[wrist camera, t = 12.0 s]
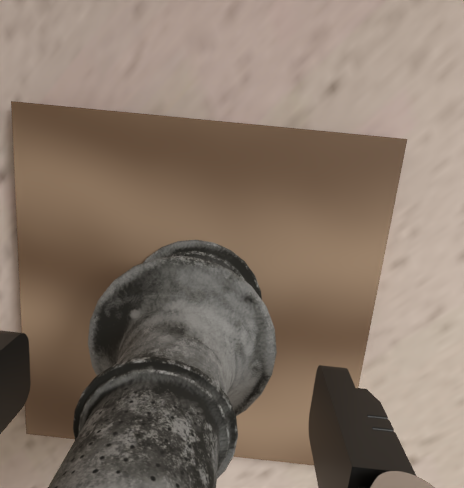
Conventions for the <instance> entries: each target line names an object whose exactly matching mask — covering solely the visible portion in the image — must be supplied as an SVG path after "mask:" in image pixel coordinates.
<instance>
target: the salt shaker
mask: <svg viewBox="0 0 464 488" xmlns="http://www.w3.org/2000/svg"><path fill="white" fill-rule="evenodd" d="M88 348H89V353H90V358H91V363H92V367H93V369H94V371H95V373H96V375H97V376H96V377H95V378H94V379H93V380H92V382H91V383H90V384H89V385H88V386H87V387H86V389H85V390H84V391H83V392H82V394H81V397H80V399H79V401H78V404H77V406H76V408H75V411H74V421H73V432H74V437H75V442H74V444H73V445H72V447H71V449H70V451H69V452H68V454H67V456H66V457H65V459H64V461H63V463H62V464H61V466H60V468H59V470H58V471H57V473H56V475H55V476H54V478H53V480H52V482H51V483H50V485H49V487H48V488H216V480H217V478H218V477H219V476H220V475H221V474H222V473H223V472H224V471H225V470H226V468H227V466H228V465H229V463H230V461H231V459H232V458H233V456H234V453H235V448H236V444H237V439H238V429H237V419H236V416H237V415H239V414H241V413H242V412H244V411H246V410H247V409H248V408H249V407H250V406H251V405H252V404H253V403H254V402H255V400H256V399H257V398H258V397H259V396H260V395H261V394H262V392H263V391H264V389H265V387H266V385H267V383H268V381H269V379H270V378H271V376H272V373H273V368H274V363H275V358H276V354H277V350H276V337H275V328H274V325H273V322H272V320H271V317H270V314H269V312H268V309H267V306H266V305H265V304H264V302H263V301H262V296H261V290H260V287H259V285H258V282H257V279H256V277H255V275H254V273H253V272H252V271H251V269H250V268H249V266H248V265H247V264H246V262H245V261H244V260H243V259H241V258H240V257H239V256H238V255H236V254H235V253H234V252H233V251H231V250H230V249H227V248H225V247H223V246H221V245H218V244H216V243H213V242H208V241H202V240H186V241H177V242H175V243H172V244H169V245H166V246H164V247H161V248H160V249H158V250H157V251H156V252H154V253H153V254H151V255H150V256H149V257H147V258H146V260H145V261H144V262H143V263H142V264H139V265H136V266H133V267H132V268H131V269H129V270H128V271H126V272H125V273H124V274H122V275H121V276H119V277H118V278H117V279H115V280H114V281H113V282H112V283H111V284H110V286H109V287H108V288H107V289H106V291H105V292H104V293H103V295H102V296H101V297H100V298H99V300H98V302H97V304H96V307H95V309H94V312H93V314H92V317H91V319H90V324H89V335H88Z"/></svg>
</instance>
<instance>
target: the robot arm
mask: <svg viewBox="0 0 464 488" xmlns="http://www.w3.org/2000/svg"><path fill="white" fill-rule="evenodd" d="M30 385H31V380H30V355H29V339H28V336H27V335H26V334H25V333H17V332H7V331H0V434H1V433H2V431H3V430H4V429H5V428H6V427H7V425H8V424H9V423H10V422H11V421H12V419H13V418H14V417H15V416H16V415H17V413H18V412H19V411H20V410H21V409H22V407H23V406H24V404H25V402H26V400H27V398H28V395H29V391H30ZM387 418H388V417H387V415H386V413H385V411H384V409H383V407H382V405H381V402H380V401H378V400H377V399H376V398H375V397H374V396H373V395H372V394H371V393H370V392H369V391H368V390H367V389H360V388H355V385H354V383H353V380H352V378H351V376H350V373H349V371H348V369H347V368H342V367H332V366H323V365H319V366H318V368H317V371H316V377H315V383H314V389H313V395H312V401H311V407H310V413H309V440H310V445H311V451H312V456H313V461H314V466H315V471H316V476H317V481H318V487H319V488H435V487H433V486H432V485H431V484H429V483H428V482H426V481H425V480H423V479H421V478H419V477H417V476H416V474H415V472H414V470H413V468H412V466H411V464H410V462H409V460H408V458H407V456H406V454H405V452H404V450H403V448H402V446H401V443H400V441H399V439H398V437H397V435H396V433H395V432H394V431H393V430H394V429H393V427H392V425H391V423H390V421H389V420H388V419H387Z"/></svg>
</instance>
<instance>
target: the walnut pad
mask: <svg viewBox="0 0 464 488" xmlns="http://www.w3.org/2000/svg"><path fill="white" fill-rule="evenodd" d="M11 108H12V130H13V152H14V174H15V196H16V218H17V240H18V262H19V284H20V306H21V328H22V333H25V334H26V335H27V336H28V339H29V355H30V380H31V385H30V391H29V395H28V398H27V400H26V402H25V417H26V434H33V435H43V436H52V437H61V438H70V439H75V437H74V432H73V421H74V411H75V408H76V406H77V404H78V401H79V399H80V397H81V394H82V392H83V391H84V390H85V389H86V387H87V386H88V385H89V384H90V383H91V382H92V380H93V379H94V378H95V377H96V376H97V375H96V373H95V371H94V369H93V367H92V363H91V358H90V353H89V348H88V335H89V324H90V319H91V317H92V314H93V312H94V309H95V307H96V304H97V302H98V300H99V298H100V297H101V296H102V295H103V293H104V292H105V291H106V289H107V288H108V287H109V286H110V284H111V283H112V282H113V281H114V280H115V279H117V278H118V277H119V276H121V275H122V274H124V273H125V272H126V271H128V270H129V269H131V268H132V267H133V266H136V265H139V264H142V263H143V262H144V261H145V260H146V258H147V257H149V256H150V255H151V254H153V253H154V252H156V251H157V250H158V249H160V248H161V247H164V246H166V245H169V244H172V243H175V242H177V241H186V240H202V241H208V242H213V243H216V244H218V245H221V246H223V247H225V248H227V249H230V250H231V251H233V252H234V253H235V254H236V255H238V256H239V257H240V258H241V259H243V260H244V261H245V262H246V264H247V265H248V266H249V268H250V269H251V271H252V272H253V273H254V275H255V277H256V279H257V282H258V285H259V287H260V290H261V296H262V301H263V302H264V304H265V305H266V306H267V309H268V312H269V314H270V317H271V320H272V322H273V325H274V328H275V337H276V350H277V354H276V358H275V363H274V368H273V373H272V376H271V378H270V379H269V381H268V383H267V385H266V387H265V389H264V391H263V392H262V394H261V395H260V396H259V397H258V398H257V399H256V400H255V402H254V403H253V404H252V405H251V406H250V407H249V408H248V409H247V410H246V411H244V412H242V413H241V414H239V415H237V416H236V419H237V429H238V439H237V444H236V448H235V453H234V457H243V458H252V459H261V460H270V461H280V462H289V463H298V464H307V465H314V461H313V456H312V451H311V445H310V440H309V413H310V407H311V401H312V395H313V389H314V383H315V377H316V371H317V368H318V366H319V365H323V366H332V367H342V368H347V369H348V371H349V373H350V376H351V378H352V380H353V383H354V385H355V388H358V385H359V380H360V375H361V370H362V365H363V360H364V355H365V350H366V345H367V340H368V335H369V330H370V325H371V320H372V315H373V310H374V305H375V300H376V295H377V289H378V284H379V279H380V274H381V269H382V264H383V259H384V254H385V249H386V244H387V239H388V234H389V229H390V224H391V219H392V214H393V209H394V204H395V199H396V193H397V188H398V183H399V178H400V173H401V168H402V163H403V158H404V153H405V148H406V143H407V139H400V138H389V137H379V136H368V135H358V134H347V133H337V132H326V131H316V130H305V129H295V128H284V127H274V126H264V125H253V124H243V123H232V122H222V121H211V120H201V119H190V118H180V117H169V116H159V115H148V114H138V113H128V112H117V111H107V110H96V109H86V108H75V107H65V106H54V105H44V104H33V103H23V102H12V101H11Z"/></svg>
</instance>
